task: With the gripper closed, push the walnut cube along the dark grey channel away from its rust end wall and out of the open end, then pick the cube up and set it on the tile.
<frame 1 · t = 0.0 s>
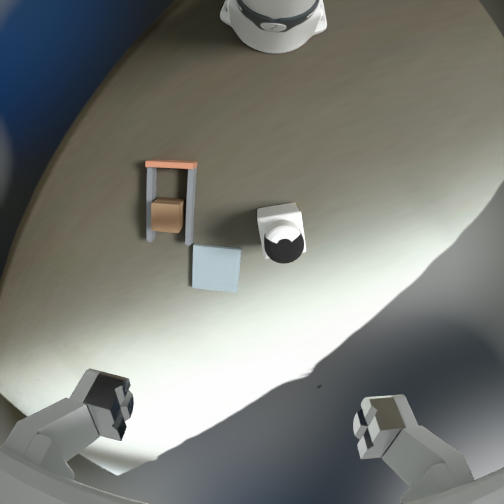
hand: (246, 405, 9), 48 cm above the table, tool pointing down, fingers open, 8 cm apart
tile: (216, 267, 60), on the table
medicine bottle: (279, 223, 57), on the table
channel: (172, 203, 56), on the table
block: (172, 210, 56), resting in channel
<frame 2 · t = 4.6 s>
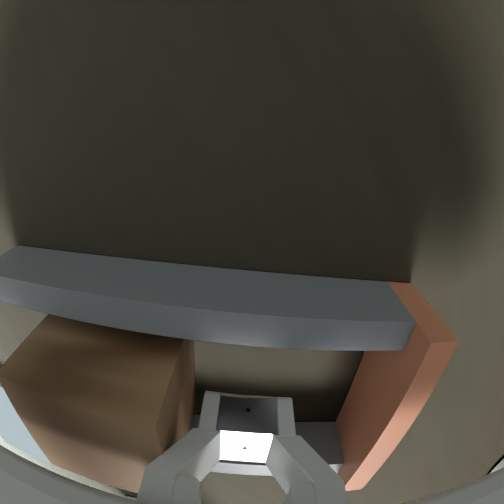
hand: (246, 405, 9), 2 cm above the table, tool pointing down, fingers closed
tile: (27, 419, 15), on the table
channel: (180, 362, 11), on the table
block: (134, 354, 11), resting in channel, touching gripper
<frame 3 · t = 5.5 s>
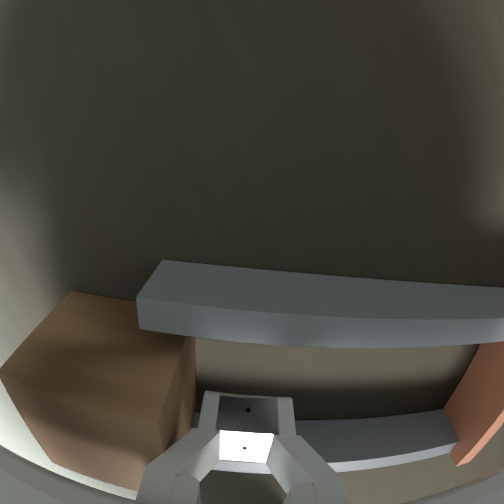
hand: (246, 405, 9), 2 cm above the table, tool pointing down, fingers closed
channel: (343, 372, 11), on the table
block: (135, 352, 11), on the table, touching gripper
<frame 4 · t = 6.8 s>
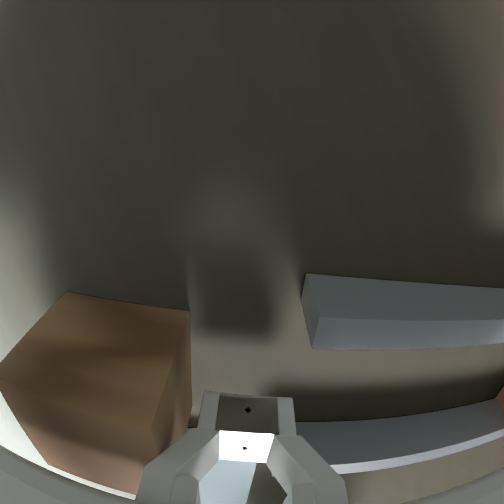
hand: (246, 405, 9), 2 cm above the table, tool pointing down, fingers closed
tile: (174, 465, 15), on the table
channel: (435, 369, 11), on the table
block: (130, 354, 11), on the table, touching gripper
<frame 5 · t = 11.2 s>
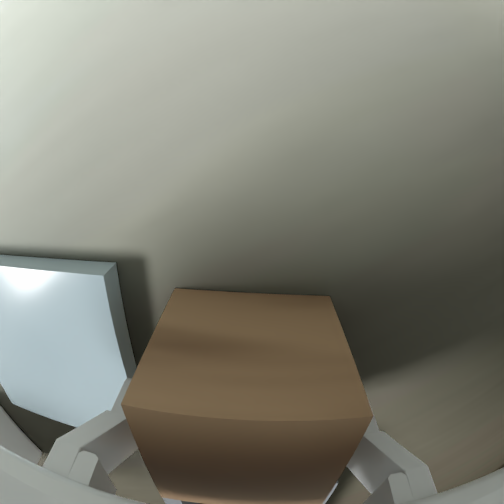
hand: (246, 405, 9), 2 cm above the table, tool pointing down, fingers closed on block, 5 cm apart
tile: (49, 348, 11), on the table
block: (249, 353, 11), on the table, touching gripper
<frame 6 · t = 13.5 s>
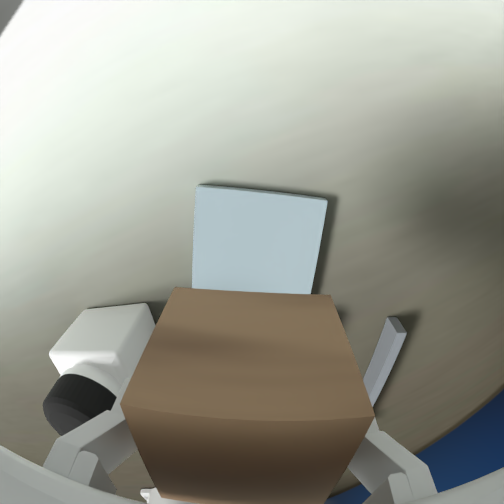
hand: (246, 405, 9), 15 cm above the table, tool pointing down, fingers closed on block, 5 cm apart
tile: (255, 249, 23), on the table
medicine bottle: (127, 336, 27), on the table
channel: (334, 374, 28), on the table
block: (249, 352, 11), point 13 cm above the table, touching gripper
when the fingers open (4 cm above the table, at t = 15.8 s): block stays where it is, resting on tile.
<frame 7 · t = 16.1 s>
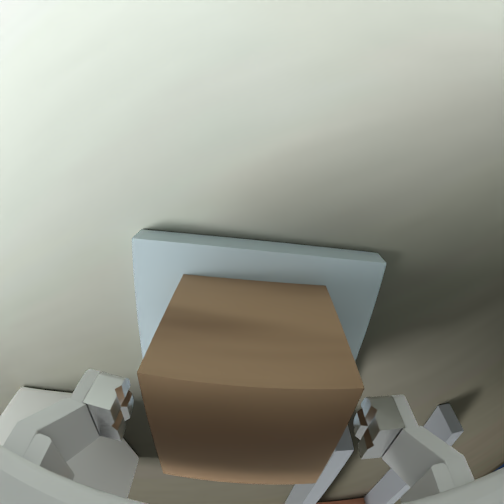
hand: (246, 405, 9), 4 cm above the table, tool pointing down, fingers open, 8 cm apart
tile: (249, 340, 13), on the table
medicine bottle: (79, 422, 17), on the table
channel: (357, 468, 17), on the table
block: (249, 338, 12), point 1 cm above the table, touching tile
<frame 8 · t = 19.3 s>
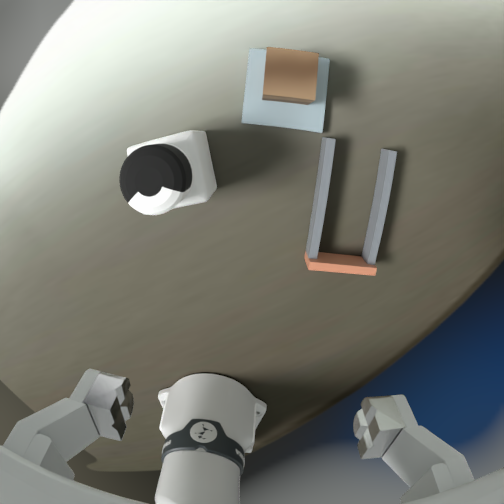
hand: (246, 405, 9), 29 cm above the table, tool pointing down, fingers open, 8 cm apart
tile: (285, 90, 32), on the table
medicine bottle: (183, 165, 35), on the table
channel: (348, 200, 36), on the table
block: (286, 81, 30), point 1 cm above the table, touching tile
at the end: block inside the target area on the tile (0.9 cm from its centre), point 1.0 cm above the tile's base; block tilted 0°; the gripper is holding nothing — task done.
